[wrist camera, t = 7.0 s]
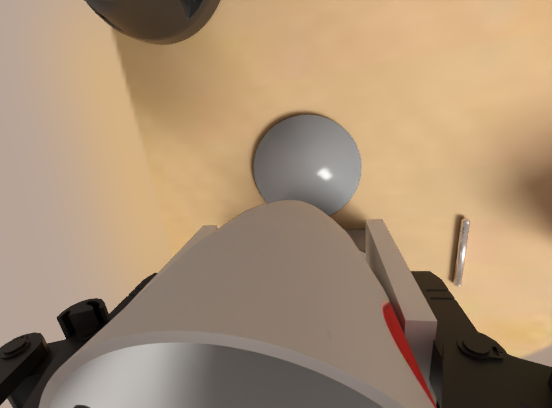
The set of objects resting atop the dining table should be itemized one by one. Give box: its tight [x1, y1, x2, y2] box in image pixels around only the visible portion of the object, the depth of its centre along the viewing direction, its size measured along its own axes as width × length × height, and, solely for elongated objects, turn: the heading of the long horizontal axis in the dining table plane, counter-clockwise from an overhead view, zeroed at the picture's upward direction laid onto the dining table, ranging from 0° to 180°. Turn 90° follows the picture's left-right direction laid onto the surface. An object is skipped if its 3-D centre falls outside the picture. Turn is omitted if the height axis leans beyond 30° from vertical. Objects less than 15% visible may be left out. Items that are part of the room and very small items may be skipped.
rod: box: [453, 218, 470, 287], centre depth 31 cm, size 9×1×1 cm, turn 6°
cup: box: [39, 200, 437, 408], centre depth 10 cm, size 8×8×10 cm
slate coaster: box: [253, 114, 361, 216], centre depth 31 cm, size 12×12×1 cm
